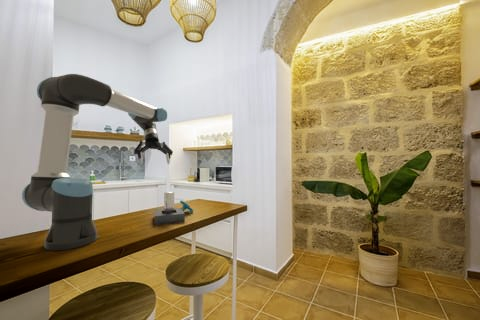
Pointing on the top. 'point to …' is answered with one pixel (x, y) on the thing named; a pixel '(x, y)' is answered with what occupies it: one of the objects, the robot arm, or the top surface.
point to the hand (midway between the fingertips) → (155, 162)
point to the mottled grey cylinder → (168, 202)
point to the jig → (169, 216)
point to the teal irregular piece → (185, 206)
